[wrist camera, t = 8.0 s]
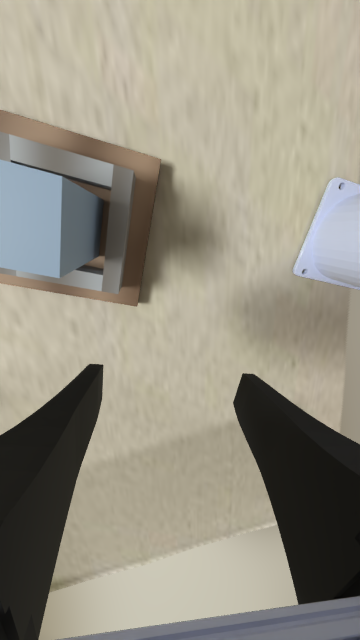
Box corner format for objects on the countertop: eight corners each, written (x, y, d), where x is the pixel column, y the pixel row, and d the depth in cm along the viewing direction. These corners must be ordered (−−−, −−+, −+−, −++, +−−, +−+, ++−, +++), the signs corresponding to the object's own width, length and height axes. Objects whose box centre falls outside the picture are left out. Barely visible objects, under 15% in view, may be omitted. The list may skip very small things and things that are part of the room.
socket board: (160, 163, 16) (162, 148, 13) (137, 302, 20) (135, 315, 17) (-10, 111, 14) (-54, 80, 11) (2, 279, 18) (-27, 289, 15)
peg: (103, 199, 16) (62, 176, 8) (98, 256, 17) (59, 278, 10) (43, 184, 15) (-62, 142, 8) (43, 244, 16) (-45, 259, 9)
